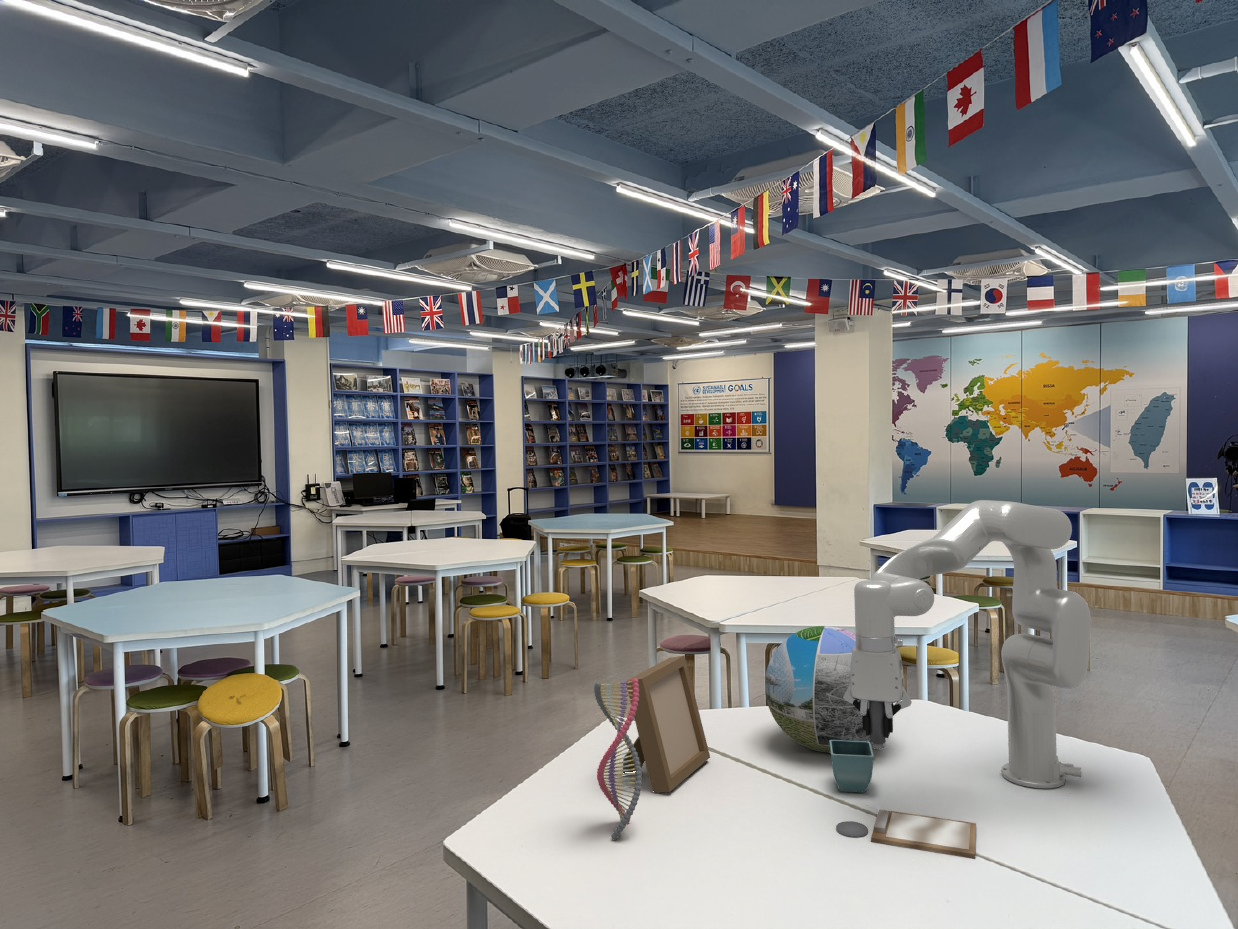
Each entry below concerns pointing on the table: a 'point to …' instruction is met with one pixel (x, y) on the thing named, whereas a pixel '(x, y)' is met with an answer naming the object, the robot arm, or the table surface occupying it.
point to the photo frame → (667, 725)
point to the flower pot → (852, 764)
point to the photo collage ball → (814, 688)
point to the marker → (877, 724)
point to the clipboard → (925, 833)
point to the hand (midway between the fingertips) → (877, 733)
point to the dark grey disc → (852, 829)
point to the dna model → (612, 751)
